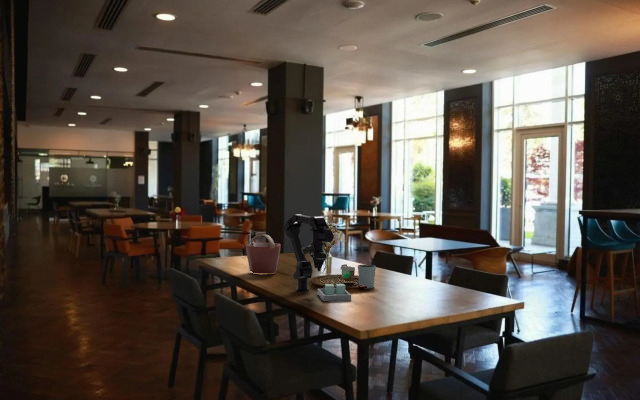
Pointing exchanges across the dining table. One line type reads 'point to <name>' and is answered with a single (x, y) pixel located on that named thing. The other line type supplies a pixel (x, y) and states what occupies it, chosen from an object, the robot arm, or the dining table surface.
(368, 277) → the grey green cylinder
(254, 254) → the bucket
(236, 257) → the dining table surface
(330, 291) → the block
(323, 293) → the tray
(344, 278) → the food container
